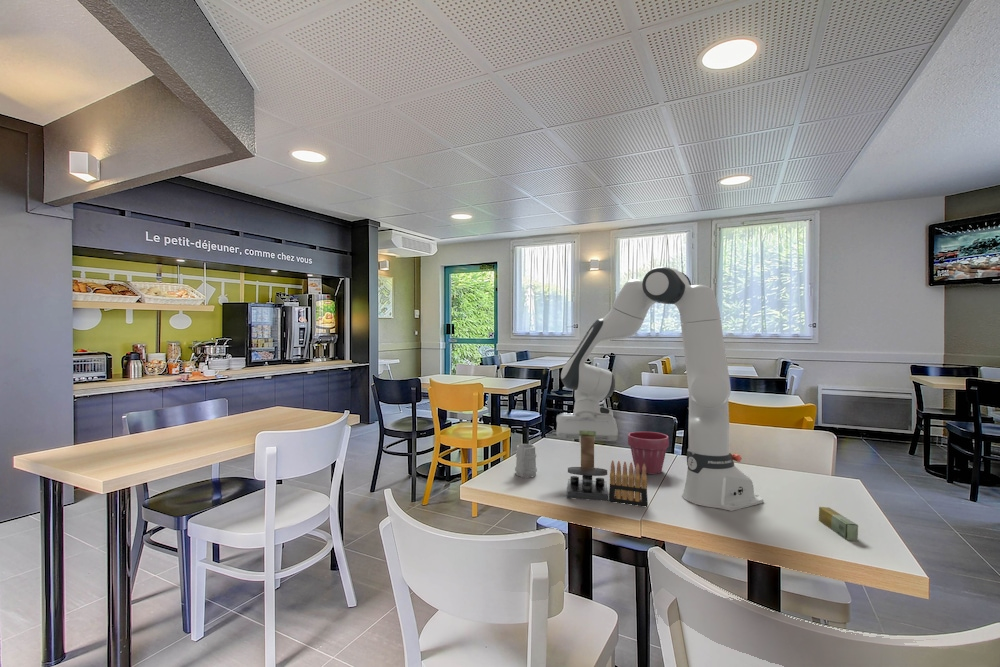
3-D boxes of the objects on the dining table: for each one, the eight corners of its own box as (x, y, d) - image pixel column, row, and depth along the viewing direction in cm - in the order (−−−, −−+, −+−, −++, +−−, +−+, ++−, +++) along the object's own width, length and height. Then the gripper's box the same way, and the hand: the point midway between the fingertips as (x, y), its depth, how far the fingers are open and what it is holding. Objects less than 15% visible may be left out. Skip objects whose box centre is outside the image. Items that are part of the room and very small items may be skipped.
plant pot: (622, 465, 170) (622, 430, 170) (658, 464, 171) (659, 430, 171) (635, 476, 156) (636, 439, 156) (675, 476, 157) (676, 439, 157)
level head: (606, 472, 145) (606, 431, 147) (608, 476, 133) (608, 432, 135) (568, 469, 147) (568, 429, 149) (567, 474, 135) (567, 430, 138)
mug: (539, 472, 161) (539, 438, 161) (531, 482, 150) (531, 445, 150) (518, 470, 163) (518, 436, 163) (509, 480, 152) (509, 444, 152)
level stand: (606, 487, 145) (606, 470, 145) (608, 501, 133) (608, 482, 133) (568, 485, 147) (568, 468, 147) (566, 498, 135) (567, 480, 135)
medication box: (858, 542, 108) (859, 525, 108) (846, 541, 108) (846, 524, 108) (828, 521, 120) (829, 506, 120) (817, 520, 120) (818, 505, 120)
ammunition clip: (608, 501, 133) (609, 460, 133) (609, 499, 134) (609, 459, 134) (647, 507, 128) (647, 464, 129) (647, 504, 130) (647, 463, 130)
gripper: (556, 407, 157) (554, 442, 147) (617, 410, 153) (619, 446, 143) (556, 418, 161) (554, 452, 151) (616, 420, 157) (618, 456, 148)
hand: (586, 449), depth 147 cm, fingers closed
